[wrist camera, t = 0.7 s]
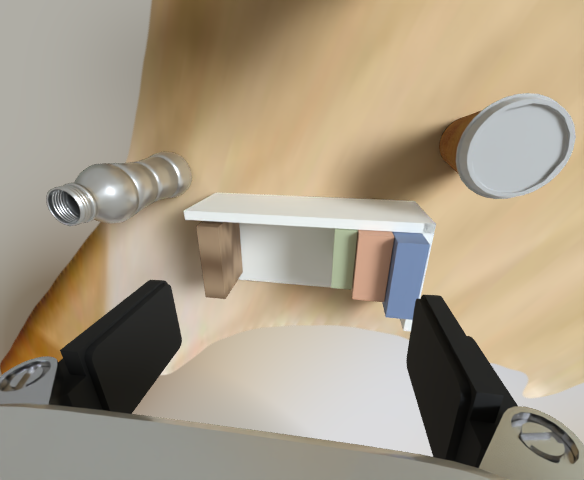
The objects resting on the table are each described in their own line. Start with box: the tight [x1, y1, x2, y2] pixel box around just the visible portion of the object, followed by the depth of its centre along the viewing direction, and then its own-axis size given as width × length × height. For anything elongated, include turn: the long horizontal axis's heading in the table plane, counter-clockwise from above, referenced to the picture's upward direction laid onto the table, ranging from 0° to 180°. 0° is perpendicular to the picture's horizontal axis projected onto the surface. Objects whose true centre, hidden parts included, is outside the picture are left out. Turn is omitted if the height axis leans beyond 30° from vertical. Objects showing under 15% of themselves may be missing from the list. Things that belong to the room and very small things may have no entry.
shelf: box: [184, 193, 436, 331], centre depth 39 cm, size 15×30×13 cm, turn 89°
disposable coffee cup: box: [439, 93, 575, 199], centre depth 31 cm, size 10×10×12 cm
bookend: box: [196, 221, 243, 299], centre depth 42 cm, size 11×3×8 cm, turn 179°
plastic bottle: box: [46, 151, 192, 226], centre depth 35 cm, size 6×7×20 cm
